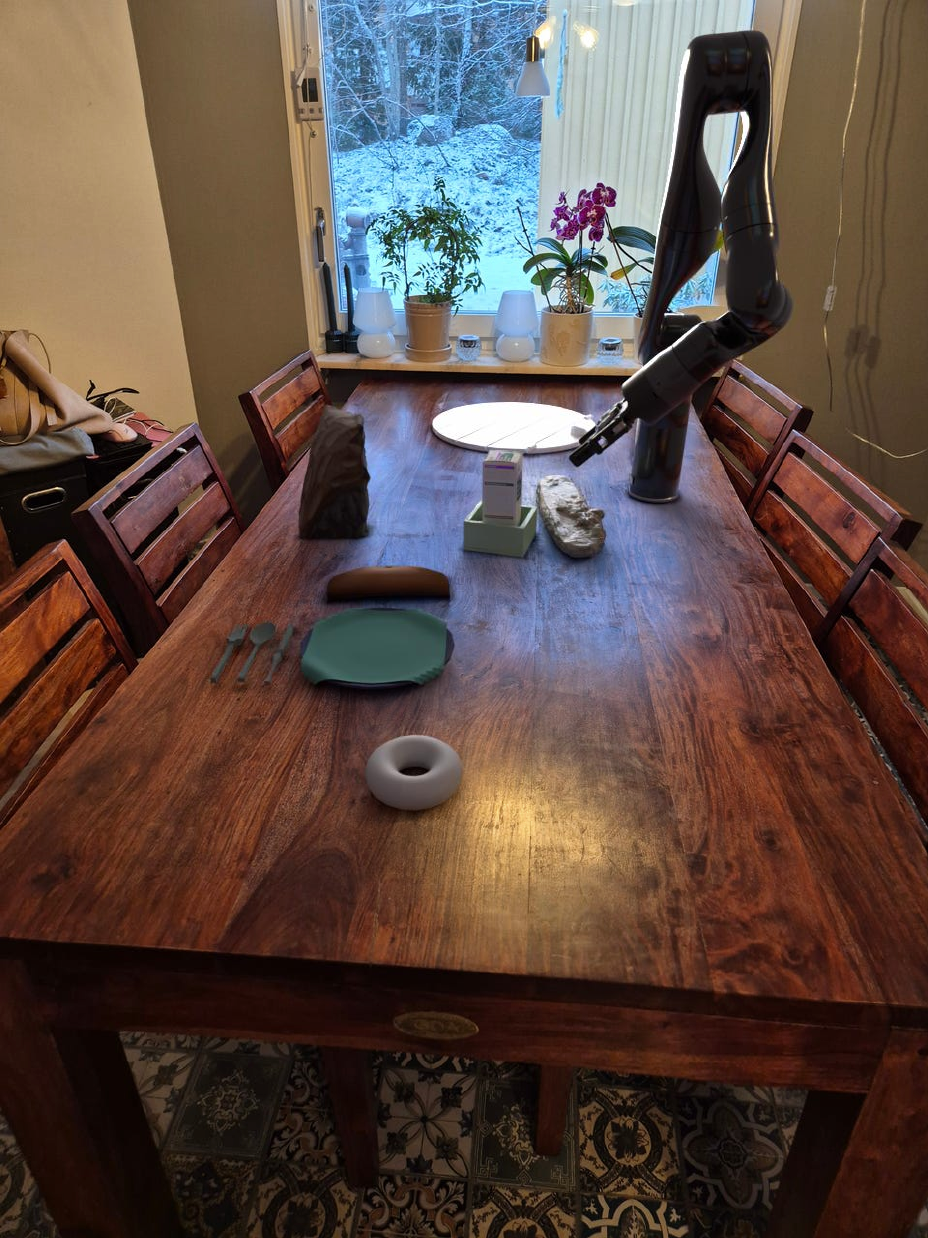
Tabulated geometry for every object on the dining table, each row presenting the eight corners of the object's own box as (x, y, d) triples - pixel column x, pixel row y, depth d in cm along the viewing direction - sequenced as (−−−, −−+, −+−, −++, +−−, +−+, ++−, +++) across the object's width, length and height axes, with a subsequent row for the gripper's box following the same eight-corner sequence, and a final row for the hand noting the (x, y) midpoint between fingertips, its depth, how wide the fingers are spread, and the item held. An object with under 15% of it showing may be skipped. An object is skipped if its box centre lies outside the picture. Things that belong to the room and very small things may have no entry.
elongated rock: (577, 493, 162) (527, 496, 162) (577, 467, 160) (527, 470, 159) (617, 559, 131) (555, 563, 130) (618, 528, 128) (555, 532, 128)
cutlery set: (452, 702, 97) (452, 685, 96) (201, 697, 97) (198, 681, 96) (456, 619, 114) (456, 605, 113) (243, 616, 115) (241, 602, 114)
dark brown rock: (323, 510, 149) (315, 401, 140) (389, 517, 147) (385, 406, 137) (295, 537, 139) (283, 421, 129) (365, 545, 136) (358, 427, 126)
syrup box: (515, 547, 135) (519, 462, 128) (480, 543, 136) (482, 459, 129) (520, 533, 140) (524, 451, 132) (486, 530, 141) (488, 448, 134)
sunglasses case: (447, 572, 126) (448, 548, 120) (449, 611, 123) (451, 588, 117) (330, 576, 125) (325, 551, 119) (329, 615, 122) (324, 592, 116)
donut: (458, 752, 89) (366, 755, 88) (459, 726, 87) (365, 729, 87) (466, 816, 80) (364, 820, 80) (467, 789, 79) (363, 793, 78)
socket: (479, 527, 144) (480, 499, 141) (536, 534, 141) (537, 506, 138) (463, 549, 135) (463, 521, 133) (522, 557, 133) (523, 528, 130)
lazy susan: (624, 422, 201) (626, 409, 200) (552, 465, 173) (553, 450, 171) (486, 399, 220) (486, 386, 218) (400, 434, 191) (399, 419, 189)
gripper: (650, 354, 124) (570, 422, 132) (639, 376, 112) (552, 449, 120) (681, 392, 125) (599, 457, 134) (674, 418, 113) (585, 487, 122)
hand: (577, 453), depth 127 cm, fingers open, 8 cm apart
